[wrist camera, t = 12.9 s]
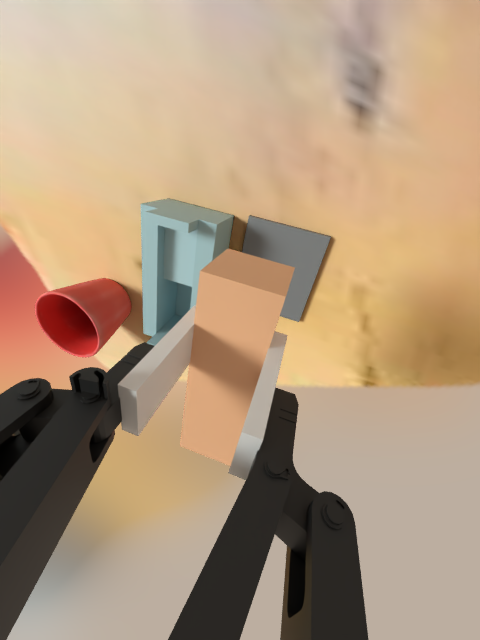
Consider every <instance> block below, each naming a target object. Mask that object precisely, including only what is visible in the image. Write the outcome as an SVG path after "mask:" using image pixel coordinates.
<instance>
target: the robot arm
mask: <svg viewBox="0 0 480 640" xmlns="http://www.w3.org/2000/svg"><path fill="white" fill-rule="evenodd" d="M195 310H196V306H193V307H192V308H191V309H190V310H189V311H188V312H187V313H186V314H185V315H184V316H183V318H182V319H181V320H180V321H179V322H178V323H177V324H176V325H175V326H174V327H173V328H172V329H171V330H170V331H169V332H168V333H167V334H166V335H165V336H164V337H163V338H162V339H161V340H160V341H159V342H158V343H157V344H156V345H155V346H154V345H151V344H148V343H145V342H144V343H142V344H140V345H138V346H135V347H134V348H133V349H132V350H131V351H130V352H128V353H127V355H125V356H124V357H123V358H122V359H121V361H119V362H118V363H117V364H116V365H114V366H113V367H112V368H111V369H110V370H109V371H108V372H107V373H106V372H105V371H104V370H102V369H99V368H93V367H90V368H84V369H81V370H79V371H76V372H75V373H73V374H72V375H71V376H70V382H71V386H72V390H62V389H51V385H50V383H49V382H48V381H47V380H45V379H40V378H36V379H29V380H25V381H22V382H20V383H18V384H16V385H14V386H13V387H11V388H10V389H8V390H6V391H5V392H4V393H2V394H0V640H6V639H7V637H8V635H9V633H10V632H11V630H12V628H13V626H14V624H15V622H16V620H17V619H18V617H19V615H20V613H21V611H22V609H23V607H24V606H25V604H26V602H27V600H28V598H29V596H30V594H31V592H32V591H33V589H34V587H35V585H36V583H37V581H38V579H39V577H40V576H41V574H42V572H43V570H44V568H45V566H46V564H47V562H48V561H49V559H50V557H51V555H52V553H53V551H54V549H55V548H56V546H57V544H58V542H59V540H60V538H61V536H62V534H63V532H64V530H65V529H66V527H67V525H68V523H69V521H70V519H71V517H72V516H73V514H74V512H75V510H76V508H77V506H78V504H79V503H80V501H81V499H82V497H83V495H84V493H85V491H86V489H87V488H88V486H89V484H90V482H91V480H92V478H93V476H94V474H95V473H96V471H97V469H98V467H99V465H100V463H101V461H102V459H103V458H104V456H105V454H106V452H107V450H108V448H109V446H110V445H111V443H112V441H113V439H114V435H115V431H114V430H115V429H116V427H117V426H118V425H119V424H120V422H121V424H122V430H124V431H127V432H129V433H132V434H134V435H137V436H139V434H140V433H141V431H142V430H143V428H144V427H145V426H146V424H147V423H148V421H149V420H150V419H151V417H152V416H153V414H154V413H155V411H156V410H157V409H158V407H159V406H160V404H161V403H162V401H163V400H164V399H165V397H166V396H167V394H168V393H169V392H170V390H171V389H172V387H173V386H174V384H175V383H176V382H177V380H178V379H179V377H180V376H181V375H182V373H183V372H184V370H185V369H186V367H187V366H188V365H189V363H190V358H191V349H192V340H193V331H194V318H195ZM286 340H287V335H285V334H282V333H279V332H276V331H275V332H274V335H273V338H272V341H271V344H270V347H269V348H268V351H267V354H266V358H265V361H264V364H263V367H262V370H261V373H260V376H259V379H258V382H257V385H256V388H255V392H254V395H253V398H252V401H251V404H250V407H249V410H248V413H247V416H246V419H245V423H244V426H243V429H242V432H241V435H240V438H239V441H238V444H237V447H236V451H235V454H234V457H233V460H232V463H231V466H230V469H229V473H230V474H232V475H235V476H237V477H239V478H242V479H244V480H246V482H245V484H244V486H243V488H242V490H241V492H240V494H239V496H238V498H237V500H236V502H235V504H234V506H233V508H232V510H231V512H230V514H229V516H228V518H227V520H226V523H225V524H224V526H223V529H222V531H221V533H220V535H219V537H218V539H217V541H216V543H215V545H214V547H213V549H212V551H211V553H210V555H209V557H208V559H207V561H206V563H205V566H204V567H203V569H202V572H201V574H200V576H199V577H198V580H197V582H196V584H195V586H194V588H193V590H192V592H191V594H190V596H189V598H188V600H187V602H186V604H185V606H184V608H183V610H182V612H181V614H180V616H179V619H178V620H177V622H176V624H175V626H174V629H173V631H172V633H171V635H170V637H169V639H168V640H240V637H241V634H242V631H243V628H244V624H245V621H246V618H247V615H248V613H249V609H250V606H251V604H252V600H253V597H254V595H255V591H256V588H257V585H258V582H259V580H260V576H261V573H262V570H263V567H264V564H265V561H266V558H267V555H268V552H269V549H270V546H271V543H272V540H273V537H274V534H275V535H277V536H278V537H279V538H280V539H281V540H282V541H283V542H284V543H285V544H286V545H287V554H286V569H285V582H284V596H283V610H282V625H281V638H280V640H368V633H367V624H366V615H365V607H364V598H363V589H362V580H361V571H360V563H359V554H358V545H357V537H356V528H355V522H354V518H353V514H352V512H351V510H350V508H349V507H348V505H347V504H346V503H345V502H344V501H343V500H342V499H341V498H340V497H339V496H337V495H336V494H334V493H332V492H325V491H324V492H322V493H318V492H317V491H316V490H315V489H313V488H312V487H310V486H309V485H308V484H307V483H306V482H305V481H304V480H303V479H301V477H300V476H299V475H298V473H297V472H296V470H295V467H294V464H293V446H294V439H295V430H296V422H297V413H298V402H297V399H296V396H295V394H292V393H289V392H286V391H284V390H281V389H278V388H275V387H276V382H277V378H278V374H279V370H280V365H281V361H282V357H283V352H284V348H285V344H286Z"/></svg>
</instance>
